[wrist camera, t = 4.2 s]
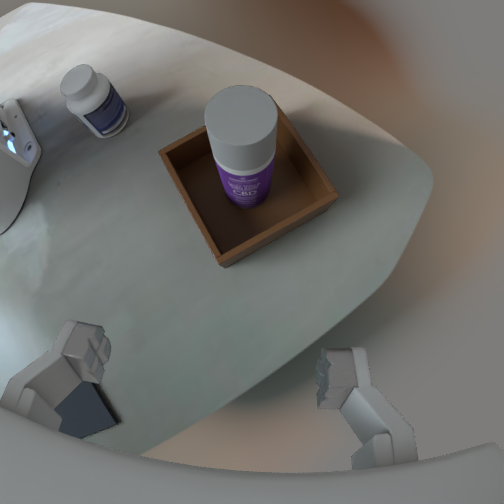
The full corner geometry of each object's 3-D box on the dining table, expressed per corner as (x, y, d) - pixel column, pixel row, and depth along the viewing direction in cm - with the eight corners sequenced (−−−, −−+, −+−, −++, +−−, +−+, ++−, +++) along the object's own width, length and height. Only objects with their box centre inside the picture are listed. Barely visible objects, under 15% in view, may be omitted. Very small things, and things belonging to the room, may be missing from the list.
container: (236, 216, 33) (219, 160, 18) (217, 177, 33) (191, 100, 18) (277, 198, 33) (293, 129, 18) (258, 159, 33) (259, 74, 18)
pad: (15, 390, 31) (12, 391, 30) (79, 355, 31) (76, 355, 31) (48, 448, 30) (46, 449, 29) (118, 422, 31) (116, 424, 30)
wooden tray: (171, 170, 34) (157, 151, 28) (268, 120, 34) (269, 94, 29) (224, 268, 32) (218, 264, 27) (327, 210, 33) (339, 196, 28)
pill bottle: (135, 103, 35) (106, 57, 25) (121, 140, 34) (85, 100, 24) (100, 102, 35) (67, 60, 25) (86, 138, 34) (46, 101, 25)
